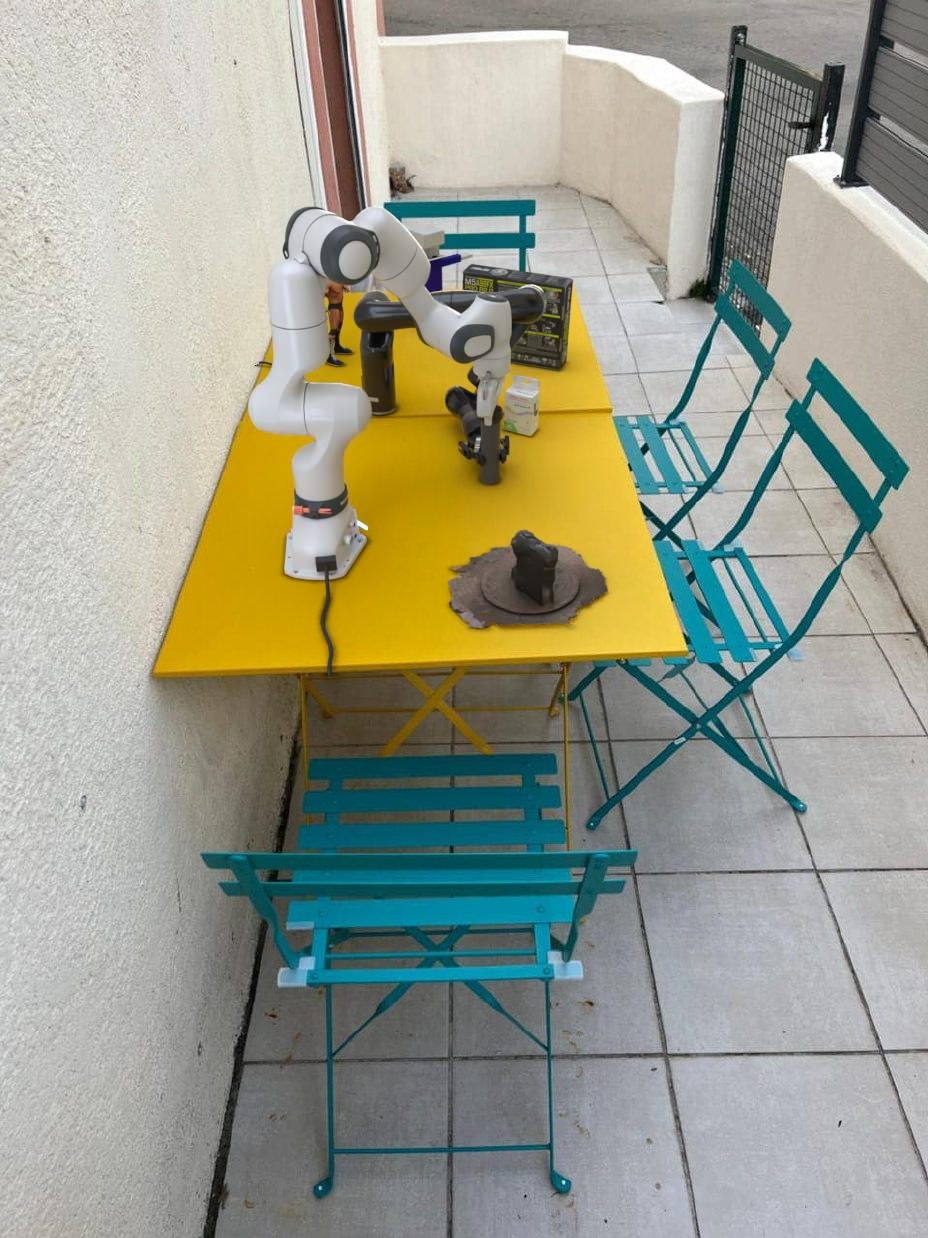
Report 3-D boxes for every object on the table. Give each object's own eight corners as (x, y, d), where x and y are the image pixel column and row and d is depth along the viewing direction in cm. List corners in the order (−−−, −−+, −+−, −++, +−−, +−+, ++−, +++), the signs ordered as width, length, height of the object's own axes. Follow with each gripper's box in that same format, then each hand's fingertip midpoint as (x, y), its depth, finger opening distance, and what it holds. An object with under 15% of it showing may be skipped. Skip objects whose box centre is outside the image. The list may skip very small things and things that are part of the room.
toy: (460, 304, 319) (459, 216, 299) (477, 312, 313) (477, 222, 294) (381, 329, 302) (375, 237, 283) (398, 337, 296) (393, 244, 277)
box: (567, 361, 281) (574, 276, 264) (561, 371, 276) (566, 284, 258) (470, 346, 291) (469, 262, 273) (461, 355, 285) (460, 270, 268)
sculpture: (594, 649, 177) (601, 586, 167) (427, 621, 184) (424, 559, 174) (615, 555, 202) (623, 495, 191) (467, 533, 209) (467, 474, 198)
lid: (495, 424, 213) (496, 417, 211) (474, 419, 215) (474, 411, 214) (506, 414, 217) (507, 407, 215) (485, 409, 219) (485, 401, 217)
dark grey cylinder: (479, 475, 229) (480, 408, 217) (498, 474, 229) (500, 407, 217) (481, 485, 225) (481, 417, 213) (500, 484, 225) (501, 417, 213)
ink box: (503, 429, 247) (504, 380, 238) (510, 422, 250) (512, 373, 241) (531, 436, 244) (533, 386, 234) (538, 429, 247) (541, 379, 238)
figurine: (337, 375, 275) (327, 277, 255) (318, 373, 276) (306, 275, 256) (359, 343, 293) (351, 250, 273) (341, 342, 294) (332, 248, 274)
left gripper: (497, 383, 199) (496, 438, 208) (511, 346, 214) (509, 399, 223) (470, 381, 200) (470, 436, 209) (485, 345, 215) (485, 397, 224)
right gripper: (450, 420, 230) (464, 452, 217) (503, 414, 232) (521, 445, 220) (450, 445, 235) (465, 478, 222) (503, 439, 237) (520, 471, 224)
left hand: (490, 417), depth 216 cm, fingers closed on lid, 5 cm apart
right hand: (492, 461), depth 221 cm, fingers closed on dark grey cylinder, 5 cm apart
